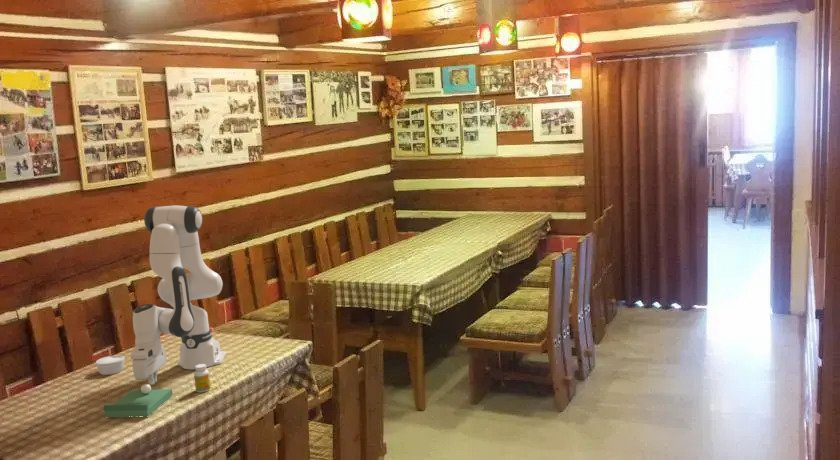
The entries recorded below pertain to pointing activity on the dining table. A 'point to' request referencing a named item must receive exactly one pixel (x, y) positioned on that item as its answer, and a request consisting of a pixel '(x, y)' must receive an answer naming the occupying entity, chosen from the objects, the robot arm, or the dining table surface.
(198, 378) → the supplement bottle
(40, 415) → the dining table surface
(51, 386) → the dining table surface
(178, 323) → the robot arm
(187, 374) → the dining table surface
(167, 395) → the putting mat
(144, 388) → the ball
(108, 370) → the ramekin
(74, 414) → the dining table surface
